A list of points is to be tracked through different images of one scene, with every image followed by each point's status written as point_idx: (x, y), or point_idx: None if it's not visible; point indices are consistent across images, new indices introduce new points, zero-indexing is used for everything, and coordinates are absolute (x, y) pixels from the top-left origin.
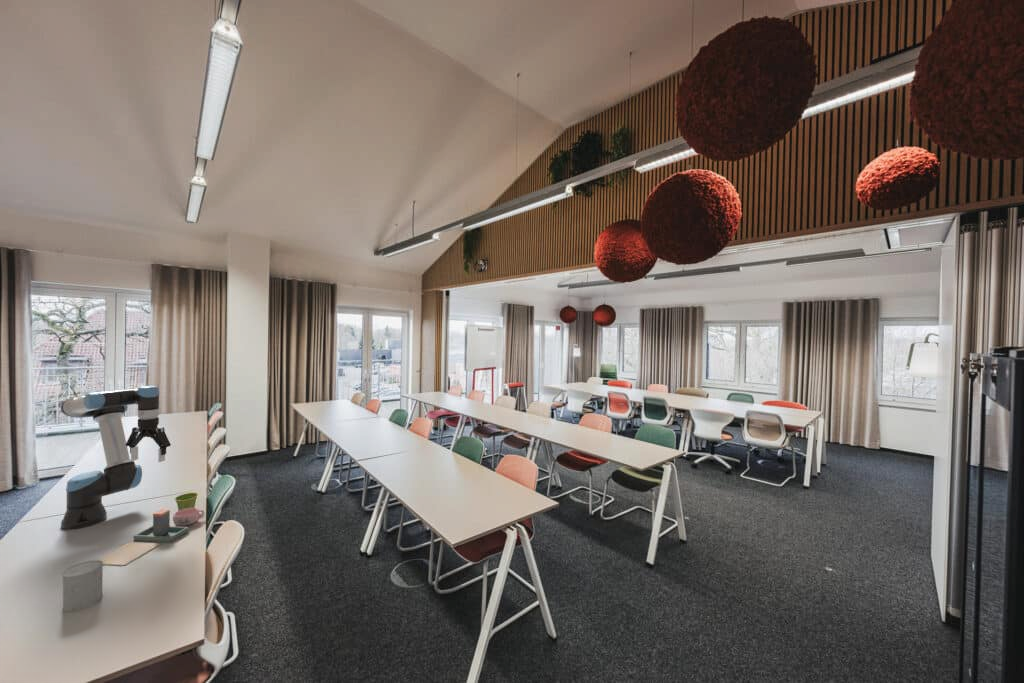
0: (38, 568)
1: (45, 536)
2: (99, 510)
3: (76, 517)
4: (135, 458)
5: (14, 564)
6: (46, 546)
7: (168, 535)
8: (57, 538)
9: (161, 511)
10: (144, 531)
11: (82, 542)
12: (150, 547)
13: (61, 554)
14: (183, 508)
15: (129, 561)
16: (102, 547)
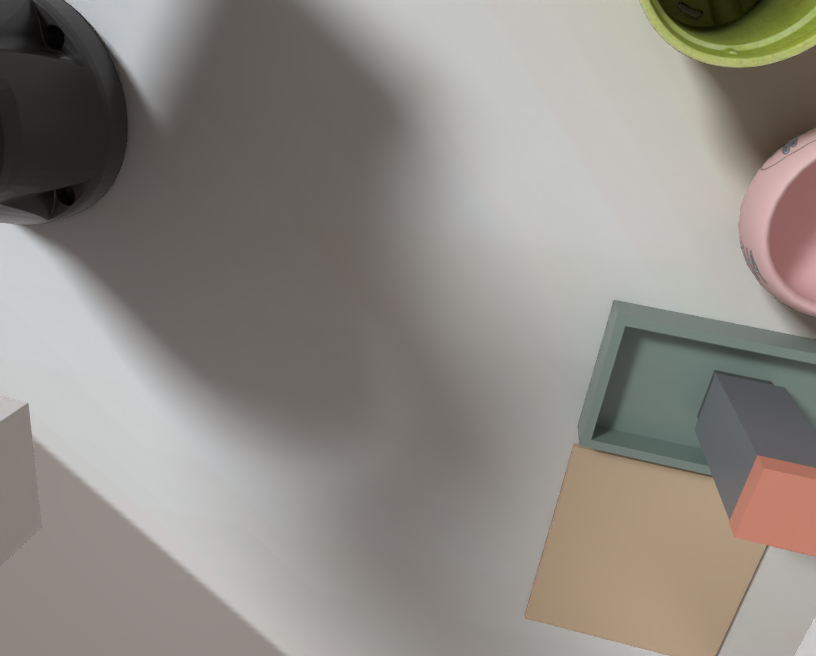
0: (311, 595)
1: (15, 292)
2: (55, 111)
3: (15, 216)
4: (1, 495)
5: (175, 543)
6: (139, 406)
7: None
8: (102, 325)
9: (790, 508)
10: (606, 385)
11: (282, 392)
12: None
13: (294, 498)
14: (734, 35)
15: (715, 642)
16: (445, 466)
